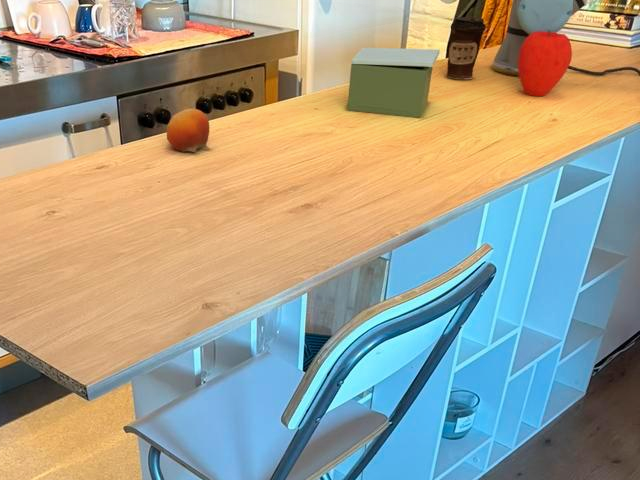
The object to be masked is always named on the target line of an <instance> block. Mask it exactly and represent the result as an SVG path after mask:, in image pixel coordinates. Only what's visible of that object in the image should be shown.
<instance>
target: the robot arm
mask: <svg viewBox="0 0 640 480" xmlns="http://www.w3.org/2000/svg"><path fill="white" fill-rule="evenodd" d="M587 2H588V0H512V3H511V7H510V12H509V17H508V23H507V28H506V32H505V36H504V38H503V40H502V42H501V43H500V46H499V48H498V50H497V52H496V55H495V56H494V58H493V61H492V65H491V66H492V67H491V68H492V70H494V71H495V72H498V73H500V74H504V75H510V76H517V77H519V72H518V58H519V53H520V48H521V46H522V44H523V42H524V41H525V39H526V38H527V37H528V36H529V35H530V34H532V33H533V32H535V31H543V32H548V31H549V30H550V32H553V33H558V32H560V31H561V30H562V29H563V28H564V27H565V26H566V24H567V23H568V22H569V20H570V19H571V17H573V16H574V15H575V14H576V13H578V12H579V11H581V9H583V8H584V7H585V6H586V5H587V4H588V3H587ZM567 70H571V71H573V72H574V71H575V72H578V73H583V74H587V75H592V76H604V75H605V74H608V73H609V74H610V73H616V72H623V71H633V72H635V73H637V74H638V75H639V76H640V69H639V68H637V67H633V66H624V67H617V68H611V69H604V70H602V71H592V70H588V69H583V68H580V67H579V68H578V67H575V66H571V65H569V67H568V69H567Z"/></svg>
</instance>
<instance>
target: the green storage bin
mask: <svg viewBox="0 0 640 480" xmlns="http://www.w3.org/2000/svg"><path fill="white" fill-rule="evenodd" d="M433 67H434V66H433ZM433 67H424V66H397V65H369V64H352V63H351V65H350V75H349V85H348V96H347V106H346V111H352V112H362V113H371V114H372V113H373V114H381V115H391V116H401V117H409V118H410V117H411V118H419V119H420V118H421V117H422V115H423V112H424V110H425V108H426V106H427V104H428V102H429V101H428V100H429V94H430V86H431V81H432V74H433Z"/></svg>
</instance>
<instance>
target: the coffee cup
mask: <svg viewBox="0 0 640 480" xmlns="http://www.w3.org/2000/svg"><path fill="white" fill-rule="evenodd" d="M484 21H485V19H484V18H482V17H479V16H478V17H477V16H461V17H457V16H456V17H454V21H453V22H452V23H451V24H450V36H449V46H448V56H447V57H448V58H447V72H446V77H447V78H449V79H455V80H472V79H473V76H474V74H473V73H474V67H475V64H476V61H477V58H478V55H479V52H480V47H481V43H482V38H483V34H484V32H485V31H486V27H487V26H486V24H485V23H484Z"/></svg>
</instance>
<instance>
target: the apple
mask: <svg viewBox="0 0 640 480" xmlns="http://www.w3.org/2000/svg"><path fill="white" fill-rule="evenodd" d="M572 55H573V49H572V43H571V41H570V38H569V37H568V36H567V35H566V34H564V33H558V32H557V33H553V32H550V30H549V31H548V32H543V31H535V32H533V33H532V34H530V35H529V36H528V37H527V38H526V39H525V41H524V42H523V44H522V46H521V48H520V53H519V58H518V72H519V76H518V77H519V80H520V84H521V86H522V89H523V91H524V94H526V95H529V96H533V97H544V96H545V95H547V94H550V93H551V91H552V90H554V88H555V86H557V84H559V82H560V81H561V79H563V77H564V75H565V73H566V72H567V71H568V70H569V69H568V67H569V66H570V64H571V62H572Z"/></svg>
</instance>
